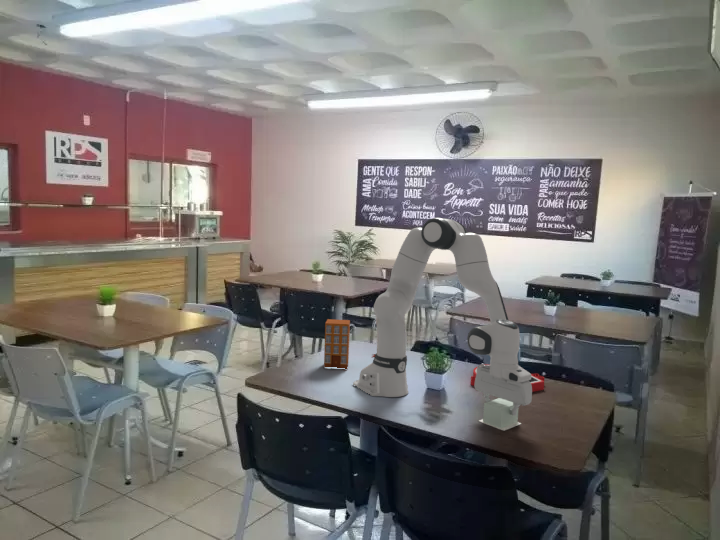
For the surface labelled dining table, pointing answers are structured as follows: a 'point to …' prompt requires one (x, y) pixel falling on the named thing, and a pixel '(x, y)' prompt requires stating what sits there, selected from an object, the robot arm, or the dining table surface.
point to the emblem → (535, 380)
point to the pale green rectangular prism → (499, 413)
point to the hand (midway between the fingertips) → (500, 410)
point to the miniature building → (336, 343)
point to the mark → (503, 427)
